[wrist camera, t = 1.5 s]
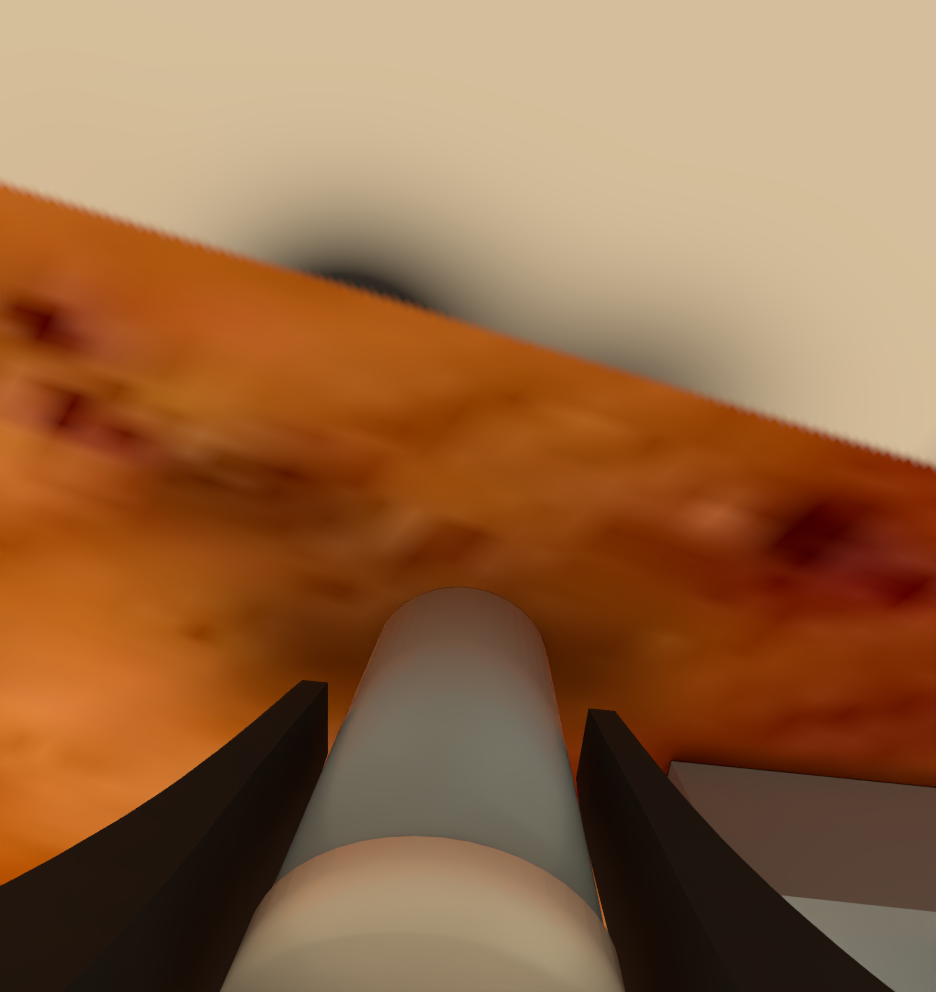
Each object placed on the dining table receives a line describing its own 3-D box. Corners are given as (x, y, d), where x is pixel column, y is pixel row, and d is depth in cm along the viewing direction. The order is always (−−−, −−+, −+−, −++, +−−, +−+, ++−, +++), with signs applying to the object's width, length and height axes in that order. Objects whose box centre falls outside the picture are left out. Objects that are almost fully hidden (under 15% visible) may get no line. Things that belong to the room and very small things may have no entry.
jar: (563, 593, 12) (688, 962, 5) (540, 749, 14) (606, 1238, 6) (373, 575, 12) (182, 905, 5) (368, 732, 14) (214, 1190, 6)
